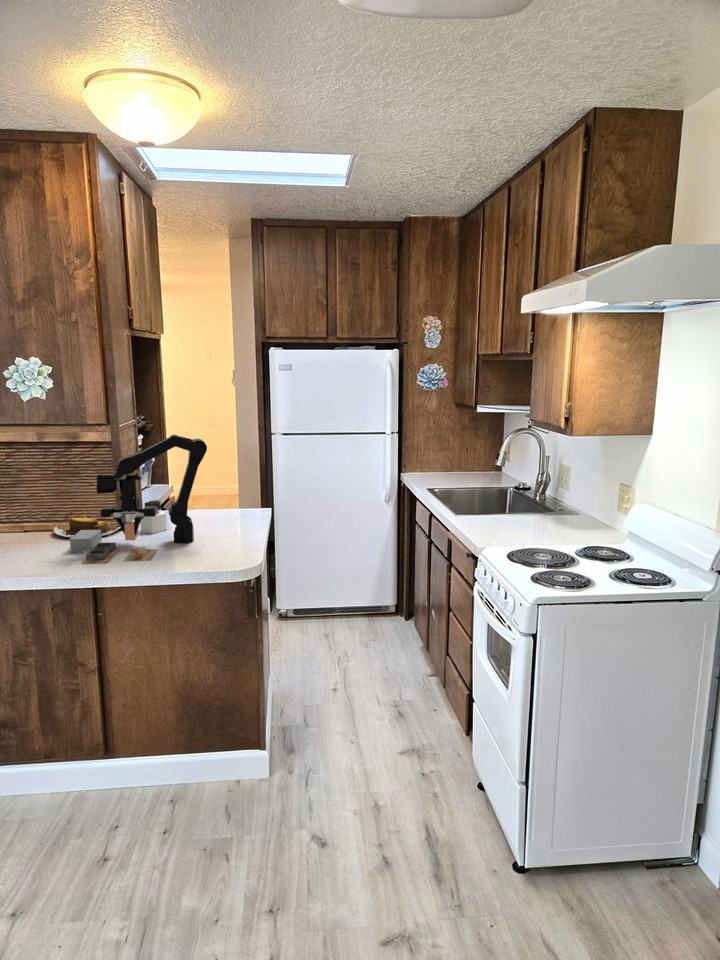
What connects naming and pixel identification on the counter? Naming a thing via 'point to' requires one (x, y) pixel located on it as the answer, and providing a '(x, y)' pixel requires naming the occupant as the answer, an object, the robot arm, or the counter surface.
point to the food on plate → (84, 526)
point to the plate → (145, 556)
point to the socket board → (101, 553)
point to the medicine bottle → (154, 519)
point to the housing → (85, 540)
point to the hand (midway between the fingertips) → (130, 534)
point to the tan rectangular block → (129, 531)
